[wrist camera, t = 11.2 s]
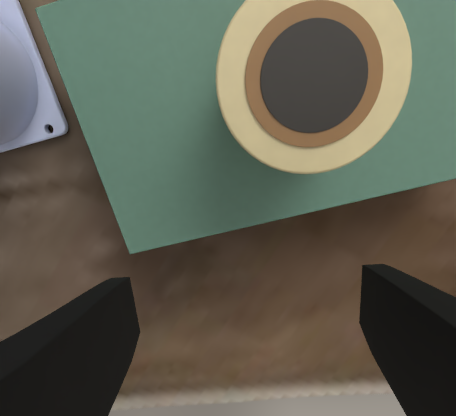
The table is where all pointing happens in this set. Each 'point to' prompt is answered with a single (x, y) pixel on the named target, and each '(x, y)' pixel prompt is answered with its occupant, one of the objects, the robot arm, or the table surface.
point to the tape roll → (312, 79)
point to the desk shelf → (214, 122)
